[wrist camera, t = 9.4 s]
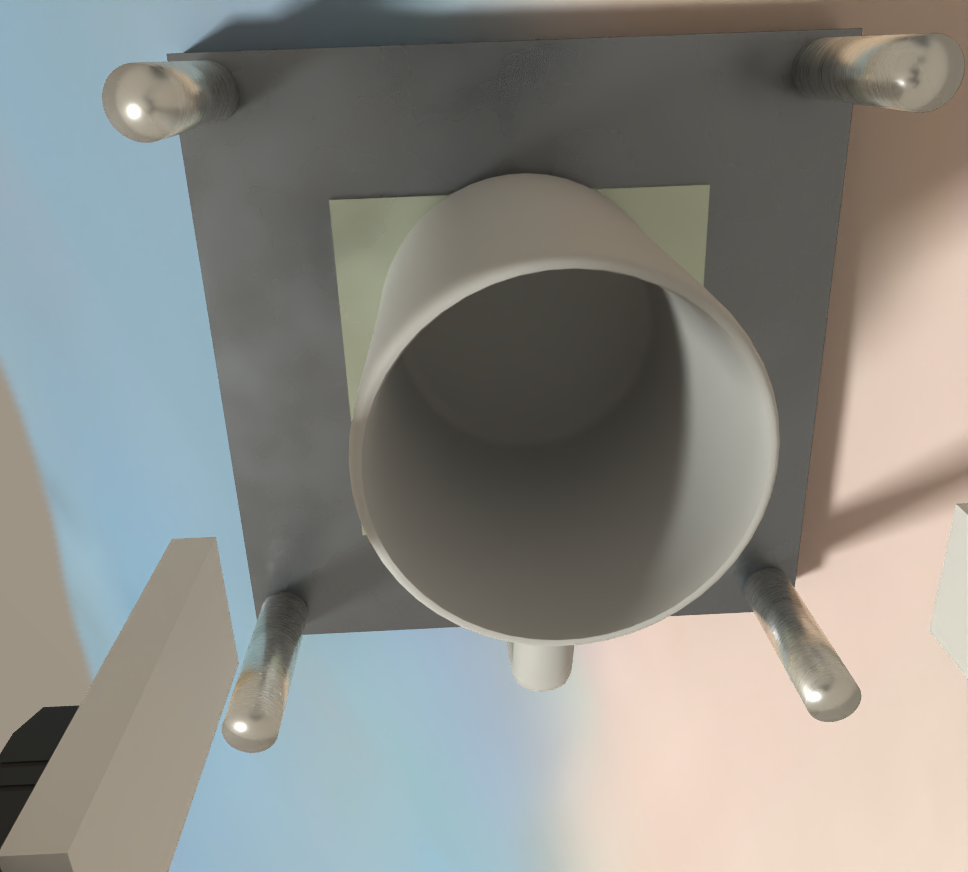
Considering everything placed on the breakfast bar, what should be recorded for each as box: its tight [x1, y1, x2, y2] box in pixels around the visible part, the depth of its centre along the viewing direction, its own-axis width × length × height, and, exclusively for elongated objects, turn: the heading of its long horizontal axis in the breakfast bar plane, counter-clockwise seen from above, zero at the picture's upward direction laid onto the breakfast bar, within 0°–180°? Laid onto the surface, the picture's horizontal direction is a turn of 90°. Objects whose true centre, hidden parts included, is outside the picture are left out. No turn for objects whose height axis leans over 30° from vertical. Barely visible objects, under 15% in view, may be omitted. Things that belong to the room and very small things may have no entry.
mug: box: [349, 173, 780, 692], centre depth 23 cm, size 12×8×11 cm
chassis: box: [102, 28, 965, 753], centre depth 26 cm, size 19×19×8 cm
